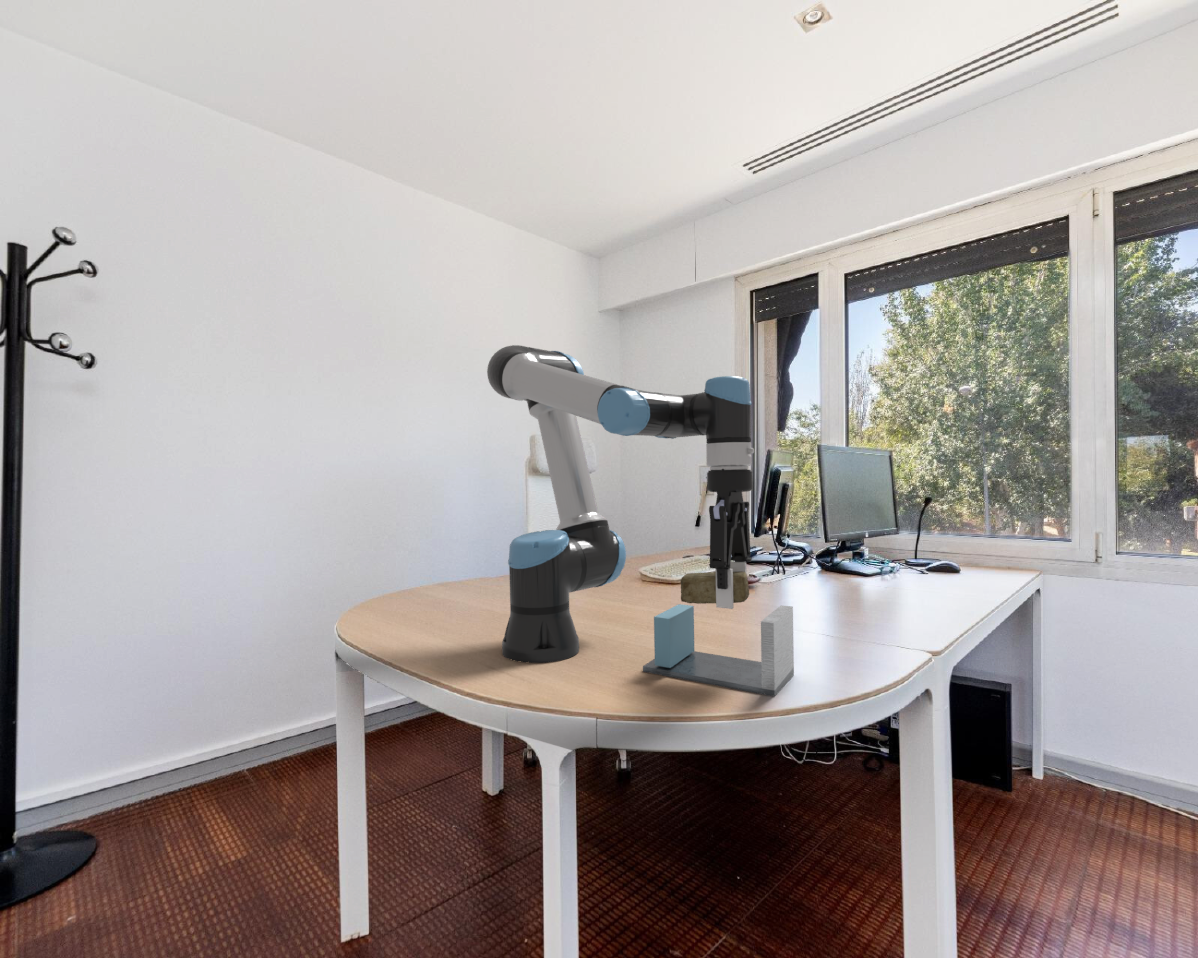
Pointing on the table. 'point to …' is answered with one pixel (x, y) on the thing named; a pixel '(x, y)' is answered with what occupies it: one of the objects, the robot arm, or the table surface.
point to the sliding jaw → (673, 635)
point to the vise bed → (744, 661)
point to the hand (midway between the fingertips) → (732, 602)
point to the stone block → (711, 587)
